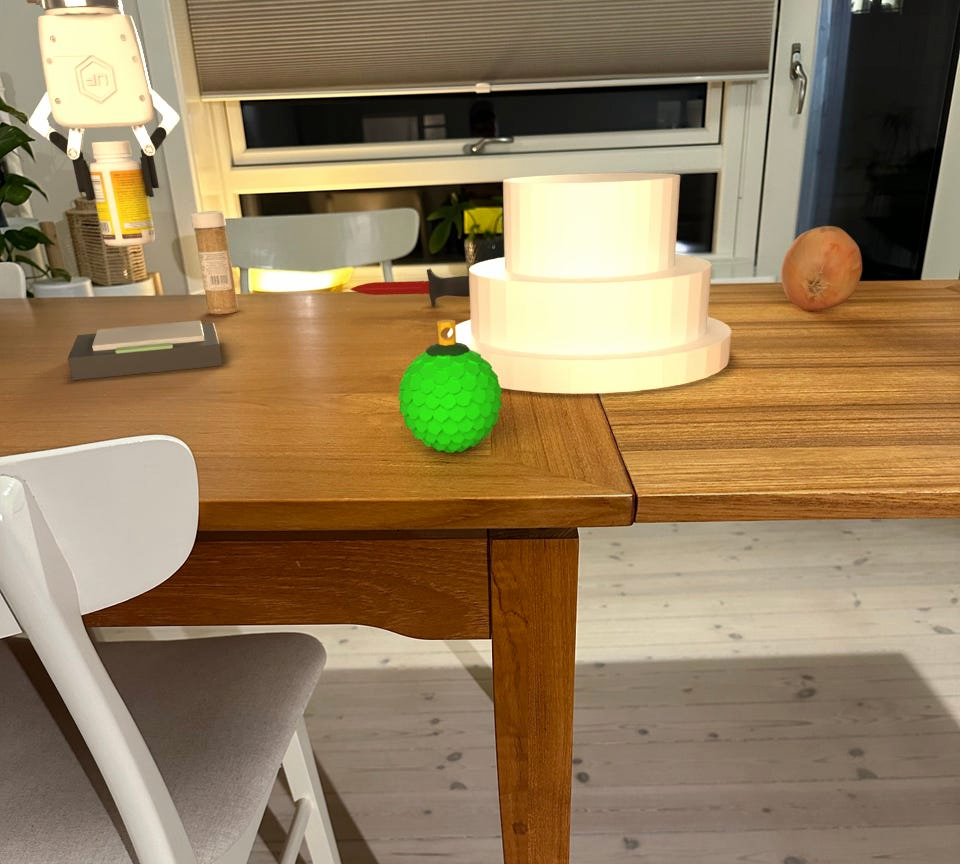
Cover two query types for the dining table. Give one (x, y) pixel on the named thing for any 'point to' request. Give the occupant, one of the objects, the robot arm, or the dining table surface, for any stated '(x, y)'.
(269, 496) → the dining table surface
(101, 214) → the supplement bottle
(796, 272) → the onion
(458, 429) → the ornament
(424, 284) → the knife
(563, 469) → the dining table surface
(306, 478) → the dining table surface
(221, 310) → the sprinkles bottle
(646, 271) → the cake
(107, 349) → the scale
